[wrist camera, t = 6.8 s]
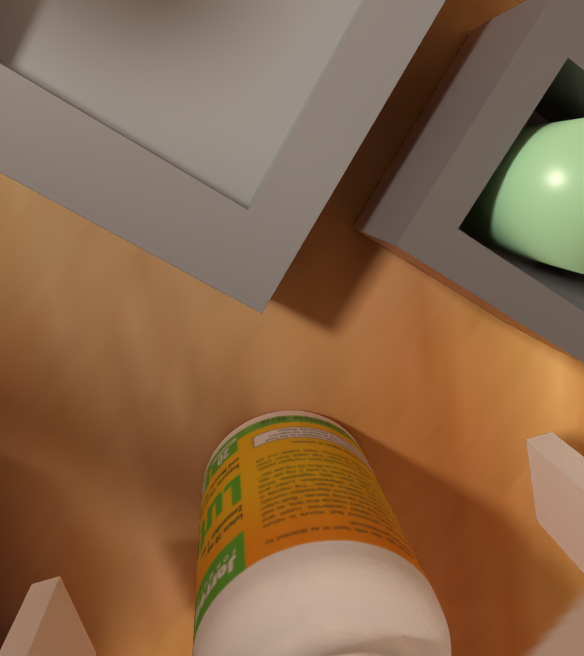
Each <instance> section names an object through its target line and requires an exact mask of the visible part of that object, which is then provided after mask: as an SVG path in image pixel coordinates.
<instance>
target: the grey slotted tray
mask: <svg viewBox="0 0 584 656" xmlns="http://www.w3.org/2000/svg"><path fill="white" fill-rule="evenodd" d="M444 2H445V0H0V173H2V174H4V175H6V176H7V177H9V178H11V179H13V180H15V181H17V182H19V183H20V184H22V185H24V186H26V187H28V188H30V189H32V190H33V191H35V192H37V193H39V194H41V195H43V196H45V197H46V198H48V199H50V200H52V201H54V202H56V203H58V204H59V205H61V206H63V207H65V208H67V209H69V210H70V211H72V212H74V213H76V214H78V215H80V216H82V217H83V218H85V219H87V220H89V221H91V222H93V223H95V224H96V225H98V226H100V227H102V228H104V229H106V230H108V231H109V232H111V233H113V234H115V235H117V236H119V237H121V238H122V239H124V240H126V241H128V242H130V243H132V244H134V245H135V246H137V247H139V248H141V249H143V250H145V251H146V252H148V253H150V254H152V255H154V256H156V257H158V258H159V259H161V260H163V261H165V262H167V263H169V264H171V265H172V266H174V267H176V268H178V269H180V270H182V271H184V272H185V273H187V274H189V275H191V276H193V277H195V278H197V279H198V280H200V281H202V282H204V283H206V284H208V285H209V286H211V287H213V288H215V289H217V290H219V291H221V292H222V293H224V294H226V295H228V296H230V297H232V298H234V299H235V300H237V301H239V302H241V303H243V304H245V305H247V306H248V307H250V308H252V309H254V310H256V311H258V312H260V313H261V314H262V312H263V310H264V309H265V307H266V305H267V304H268V302H269V300H270V298H271V297H272V295H273V293H274V292H275V290H276V288H277V287H278V285H279V283H280V281H281V280H282V278H283V276H284V275H285V273H286V271H287V269H288V268H289V266H290V264H291V263H292V261H293V259H294V258H295V256H296V254H297V252H298V251H299V249H300V247H301V246H302V244H303V242H304V241H305V239H306V237H307V235H308V234H309V232H310V230H311V229H312V227H313V225H314V224H315V222H316V220H317V218H318V217H319V215H320V213H321V212H322V210H323V208H324V207H325V205H326V203H327V201H328V200H329V198H330V196H331V195H332V193H333V191H334V189H335V188H336V186H337V184H338V183H339V181H340V179H341V178H342V176H343V174H344V172H345V171H346V169H347V167H348V166H349V164H350V162H351V161H352V159H353V157H354V155H355V154H356V152H357V150H358V149H359V147H360V145H361V144H362V142H363V140H364V138H365V137H366V135H367V133H368V132H369V130H370V128H371V126H372V125H373V123H374V121H375V120H376V118H377V116H378V115H379V113H380V111H381V109H382V108H383V106H384V104H385V103H386V101H387V99H388V98H389V96H390V94H391V92H392V91H393V89H394V87H395V86H396V84H397V82H398V81H399V79H400V77H401V75H402V74H403V72H404V70H405V69H406V67H407V65H408V63H409V62H410V60H411V58H412V57H413V55H414V53H415V52H416V50H417V48H418V46H419V45H420V43H421V41H422V40H423V38H424V36H425V35H426V33H427V31H428V29H429V28H430V26H431V24H432V23H433V21H434V19H435V18H436V16H437V14H438V12H439V11H440V9H441V7H442V6H443V4H444Z"/></svg>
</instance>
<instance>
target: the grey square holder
mask: <svg viewBox="0 0 584 656" xmlns="http://www.w3.org/2000/svg"><path fill="white" fill-rule="evenodd" d="M580 118H584V0H525V1H523V2H522V3H520V4H518V5H516V6H514V7H513V8H511V9H509V10H507V11H505V12H504V13H502V14H500V15H498V16H497V17H495V18H493V19H491V20H489V21H488V22H486V23H484V24H482V25H480V26H479V27H477V28H475V29H473V30H471V31H470V33H469V34H468V36H467V38H466V39H465V41H464V43H463V44H462V46H461V48H460V49H459V51H458V53H457V54H456V56H455V58H454V59H453V61H452V63H451V64H450V66H449V68H448V69H447V71H446V73H445V74H444V76H443V78H442V79H441V81H440V82H439V84H438V86H437V87H436V89H435V91H434V92H433V94H432V96H431V97H430V99H429V101H428V102H427V104H426V106H425V107H424V109H423V111H422V112H421V114H420V116H419V117H418V119H417V121H416V122H415V124H414V126H413V127H412V129H411V131H410V132H409V134H408V136H407V137H406V139H405V141H404V142H403V144H402V146H401V147H400V149H399V151H398V152H397V154H396V156H395V157H394V159H393V161H392V162H391V164H390V165H389V167H388V169H387V170H386V172H385V174H384V175H383V177H382V179H381V180H380V182H379V184H378V185H377V187H376V189H375V190H374V192H373V194H372V195H371V197H370V199H369V200H368V202H367V204H366V205H365V207H364V209H363V210H362V212H361V214H360V215H359V217H358V219H357V220H356V222H355V224H354V225H353V227H352V228H354V229H355V230H357V231H359V232H360V233H362V234H363V235H365V236H367V237H368V238H370V239H372V240H373V241H375V242H376V243H378V244H380V245H381V246H383V247H384V248H386V249H388V250H389V251H391V252H393V253H394V254H396V255H397V256H399V257H401V258H402V259H404V260H406V261H407V262H409V263H410V264H412V265H414V266H415V267H417V268H419V269H420V270H422V271H423V272H425V273H427V274H428V275H430V276H432V277H433V278H435V279H436V280H438V281H440V282H441V283H443V284H444V285H446V286H448V287H449V288H451V289H453V290H454V291H456V292H457V293H459V294H461V295H462V296H464V297H466V298H467V299H469V300H470V301H472V302H474V303H475V304H477V305H479V306H480V307H482V308H483V309H485V310H487V311H488V312H490V313H492V314H493V315H495V316H496V317H498V318H500V319H501V320H503V321H504V322H506V323H508V324H509V325H511V326H513V327H515V328H517V329H519V330H521V331H523V332H525V333H527V334H529V335H530V336H532V337H534V338H536V339H538V340H540V341H542V342H544V343H546V344H548V345H549V346H551V347H553V348H555V349H557V350H559V351H561V352H563V353H565V354H567V355H568V356H570V357H572V358H574V359H576V360H578V361H580V362H582V363H584V274H581V273H577V272H574V271H570V270H567V269H563V268H560V267H556V266H552V265H549V264H545V263H542V262H538V261H535V260H531V259H527V258H524V257H520V256H517V255H513V254H510V253H506V252H503V251H499V250H495V249H492V248H488V247H486V246H483V245H482V244H480V243H479V242H477V241H476V240H474V239H473V238H471V237H470V236H468V235H467V234H466V233H465V231H464V230H463V229H462V227H461V226H460V225H461V223H462V222H463V220H464V218H465V217H466V215H467V214H468V212H469V211H470V209H471V208H472V206H473V204H474V203H475V201H476V200H477V198H478V197H479V195H480V194H481V192H482V190H483V189H484V187H485V186H486V184H487V183H488V181H489V180H490V178H491V176H492V175H493V173H494V172H495V170H496V169H497V167H498V166H499V164H500V162H501V161H502V159H503V158H504V156H505V155H506V153H507V152H508V150H509V148H510V147H511V145H512V144H513V142H514V141H515V139H516V138H517V136H518V134H519V133H520V131H521V130H522V128H523V127H525V126H532V125H539V124H546V123H553V122H559V121H566V120H573V119H580Z"/></svg>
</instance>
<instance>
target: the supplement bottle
mask: <svg viewBox="0 0 584 656" xmlns="http://www.w3.org/2000/svg"><path fill="white" fill-rule="evenodd" d="M192 656H451V640H450V633H449V629H448V625H447V621H446V618H445V616H444V613H443V611H442V608H441V606H440V604H439V601H438V599H437V596H436V594H435V592H434V590H433V588H432V586H431V584H430V582H429V580H428V578H427V576H426V574H425V572H424V570H423V568H422V566H421V564H420V562H419V561H418V559H417V557H416V555H415V553H414V551H413V549H412V547H411V545H410V543H409V541H408V539H407V538H406V536H405V534H404V532H403V530H402V528H401V526H400V524H399V522H398V520H397V518H396V516H395V514H394V512H393V510H392V508H391V506H390V504H389V502H388V500H387V499H386V496H385V495H384V493H383V491H382V489H381V487H380V485H379V483H378V481H377V479H376V477H375V475H374V473H373V471H372V469H371V467H370V465H369V462H368V461H367V459H366V457H365V455H364V453H363V452H362V450H361V448H360V446H359V445H358V443H357V442H356V441H355V439H354V438H353V437H352V436H351V434H350V433H348V432H347V431H346V430H345V429H344V428H343V427H342V426H340V425H339V424H337V423H336V422H334V421H332V420H331V419H328V418H326V417H324V416H321V415H318V414H315V413H311V412H306V411H298V410H285V411H276V412H272V413H268V414H264V415H261V416H258V417H256V418H253V419H251V420H249V421H247V422H245V423H243V424H242V425H240V426H239V427H237V428H236V429H234V430H233V431H232V432H231V433H230V434H228V435H227V436H226V437H225V438H224V439H223V440H222V442H221V443H220V444H219V445H218V447H217V448H216V450H215V451H214V453H213V454H212V456H211V458H210V460H209V462H208V465H207V467H206V471H205V475H204V479H203V485H202V495H201V511H200V529H199V548H198V562H197V581H196V599H195V619H194V637H193V652H192Z"/></svg>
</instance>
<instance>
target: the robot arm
mask: <svg viewBox="0 0 584 656" xmlns="http://www.w3.org/2000/svg"><path fill="white" fill-rule="evenodd" d="M526 444H527V452H528V459H529V466H530V474H531V481H532V489H533V496H534V504H535V511H536V519H537V522H538V523H539V524H540V525H541V526H542V527H543V529H544V530H545V531H546V532H547V533H548V534H549V535H550V536H551V538H552V539H553V540H554V541H555V542H556V543H557V544H558V545H559V546H560V548H561V549H562V550H563V551H564V552H565V553H566V554H567V555H568V556H569V558H570V559H571V560H572V561H573V562H574V563H575V564H576V565H577V566H578V568H579V569H580V570H581V571H582V572H583V573H584V457H583V456H582V455H581V454H579V453H578V452H577V451H576V450H574V449H573V448H572V447H571V446H569V445H568V444H567V443H565V442H564V441H563V440H562V439H560V438H559V437H558V436H557V435H555V434H554V433H553V432H550V433H547V434H543V435H540V436H536V437H533V438H529V439H526ZM0 656H96V651H95V649H94V647H93V645H92V643H91V641H90V639H89V636H88V634H87V632H86V630H85V628H84V626H83V624H82V622H81V619H80V617H79V615H78V613H77V611H76V609H75V607H74V605H73V602H72V600H71V598H70V596H69V594H68V592H67V590H66V588H65V586H64V583H63V581H62V579H61V577H60V576H58V577H55V578H51V579H48V580H44V581H41V582H38V583H34V584H32V585H31V587H30V589H29V591H28V593H27V595H26V597H25V599H24V601H23V604H22V606H21V608H20V610H19V612H18V614H17V616H16V618H15V620H14V622H13V625H12V627H11V629H10V631H9V633H8V635H7V637H6V639H5V641H4V643H3V646H2V648H1V650H0Z"/></svg>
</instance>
